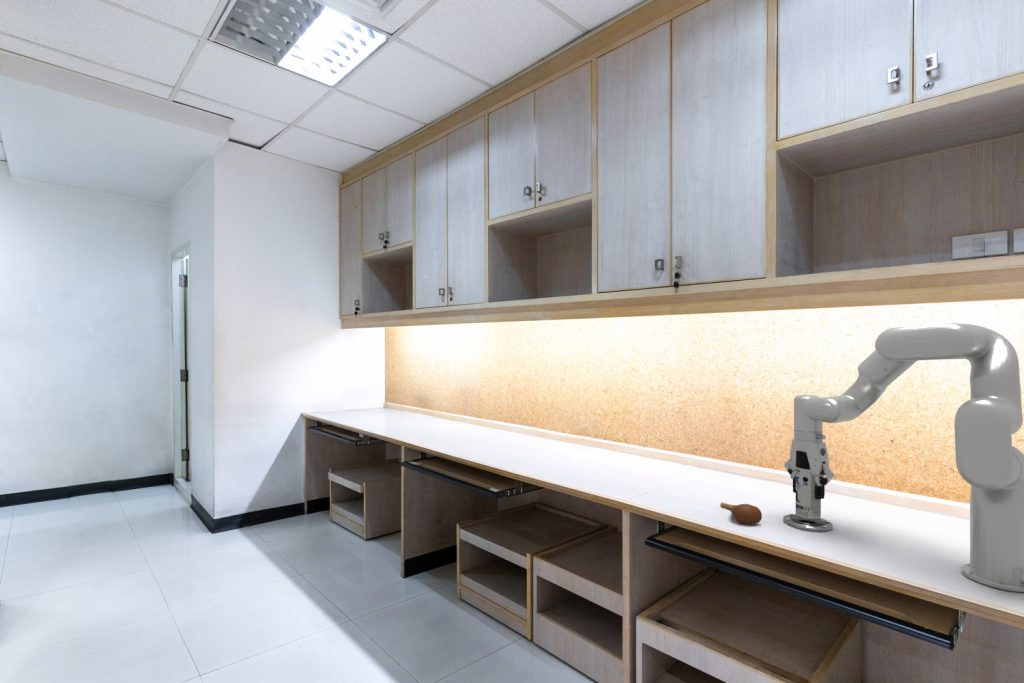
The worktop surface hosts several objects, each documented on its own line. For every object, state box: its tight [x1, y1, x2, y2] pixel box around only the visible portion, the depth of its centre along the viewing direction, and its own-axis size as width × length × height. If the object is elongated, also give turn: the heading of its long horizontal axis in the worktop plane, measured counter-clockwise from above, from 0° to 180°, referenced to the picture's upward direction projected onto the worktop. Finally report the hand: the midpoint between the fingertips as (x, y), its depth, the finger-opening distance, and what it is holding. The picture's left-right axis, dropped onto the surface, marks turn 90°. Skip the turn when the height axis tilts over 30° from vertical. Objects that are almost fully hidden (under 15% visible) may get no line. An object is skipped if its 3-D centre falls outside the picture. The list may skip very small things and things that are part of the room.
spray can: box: [795, 450, 822, 520], centre depth 153 cm, size 7×7×20 cm
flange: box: [782, 513, 834, 533], centre depth 153 cm, size 13×13×1 cm
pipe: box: [720, 501, 763, 526], centre depth 161 cm, size 8×19×6 cm, turn 8°
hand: (808, 494), depth 153 cm, fingers closed on spray can, 6 cm apart
